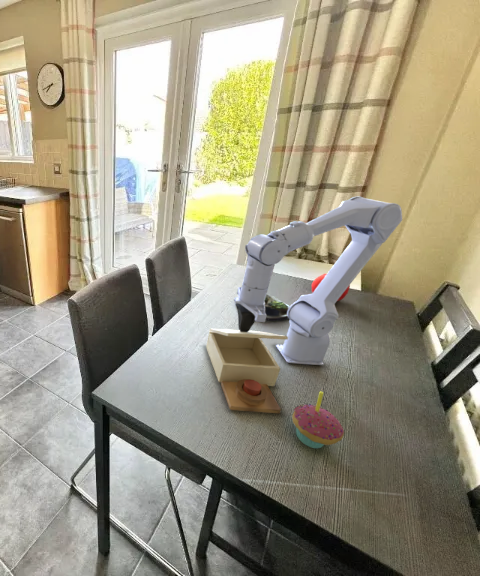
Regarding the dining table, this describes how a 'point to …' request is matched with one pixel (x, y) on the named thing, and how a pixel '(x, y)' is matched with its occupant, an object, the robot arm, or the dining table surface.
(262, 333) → the lid
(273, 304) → the salad plate
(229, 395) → the wooden base board
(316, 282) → the tomato
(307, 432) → the cupcake
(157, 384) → the dining table surface
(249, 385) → the button
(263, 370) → the bin
